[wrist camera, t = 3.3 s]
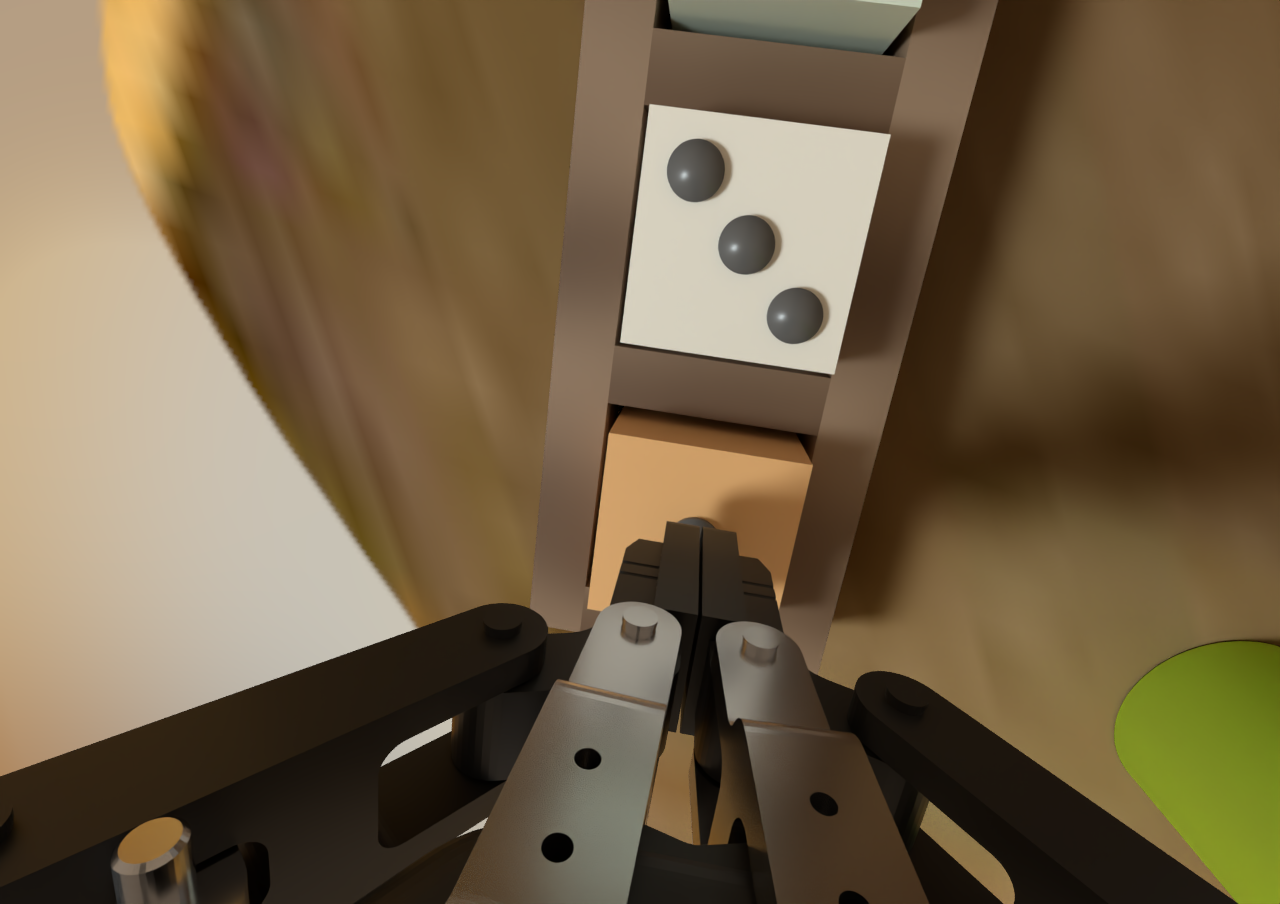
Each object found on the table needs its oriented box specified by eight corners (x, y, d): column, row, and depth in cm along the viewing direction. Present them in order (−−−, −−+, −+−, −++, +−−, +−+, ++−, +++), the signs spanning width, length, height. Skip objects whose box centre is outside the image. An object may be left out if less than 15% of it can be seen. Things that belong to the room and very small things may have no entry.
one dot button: (625, 403, 16) (608, 434, 13) (793, 430, 16) (813, 467, 13) (606, 553, 18) (586, 612, 15) (760, 579, 17) (772, 645, 14)
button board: (638, -294, 13) (623, -422, 10) (1025, -260, 12) (1101, -386, 10) (550, 579, 19) (528, 623, 17) (803, 623, 19) (817, 674, 16)
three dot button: (660, 136, 14) (649, 102, 11) (853, 161, 14) (893, 132, 11) (635, 328, 16) (618, 343, 13) (810, 354, 15) (835, 375, 12)
